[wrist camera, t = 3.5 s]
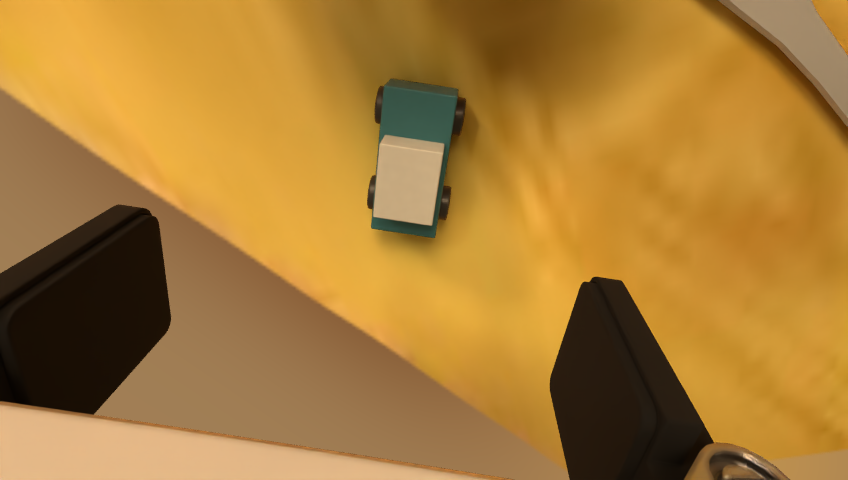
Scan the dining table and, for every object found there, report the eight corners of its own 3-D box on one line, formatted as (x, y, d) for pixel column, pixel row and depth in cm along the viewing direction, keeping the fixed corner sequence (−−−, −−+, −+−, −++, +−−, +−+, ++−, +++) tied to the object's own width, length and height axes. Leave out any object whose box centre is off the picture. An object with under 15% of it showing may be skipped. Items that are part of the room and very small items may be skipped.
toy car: (445, 218, 21) (442, 254, 18) (371, 206, 21) (355, 241, 18) (467, 87, 19) (468, 105, 16) (382, 74, 19) (367, 89, 16)
